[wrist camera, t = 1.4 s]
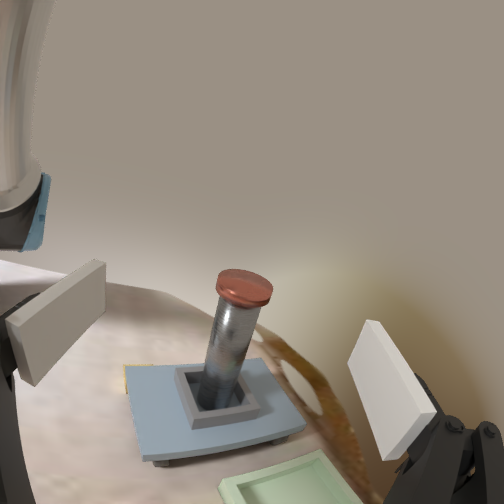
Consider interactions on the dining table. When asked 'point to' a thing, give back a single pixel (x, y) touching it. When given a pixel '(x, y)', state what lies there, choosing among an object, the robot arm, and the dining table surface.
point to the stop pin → (231, 334)
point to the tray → (290, 484)
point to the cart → (205, 411)
